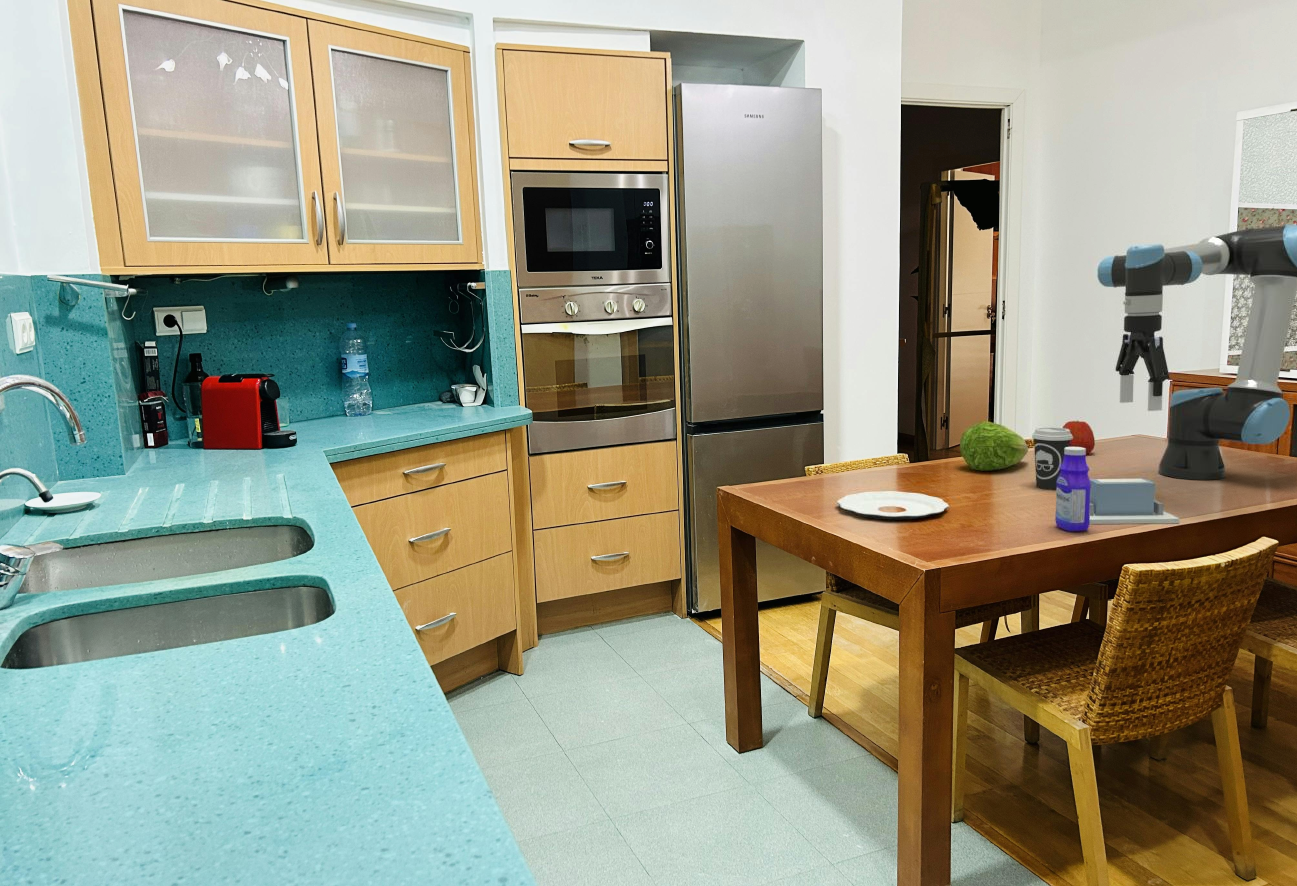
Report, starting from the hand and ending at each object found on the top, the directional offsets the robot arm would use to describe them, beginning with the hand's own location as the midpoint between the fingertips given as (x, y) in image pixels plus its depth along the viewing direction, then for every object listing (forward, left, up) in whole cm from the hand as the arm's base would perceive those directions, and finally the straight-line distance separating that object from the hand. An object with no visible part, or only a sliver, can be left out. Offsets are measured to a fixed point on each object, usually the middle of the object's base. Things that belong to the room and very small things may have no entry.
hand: (1140, 406), depth 204 cm
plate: (+57, +4, -23) cm, 62 cm away
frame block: (+9, +13, -22) cm, 27 cm away
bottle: (+23, +23, -23) cm, 40 cm away
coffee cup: (+13, -18, -23) cm, 32 cm away
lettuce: (+18, -45, -23) cm, 53 cm away
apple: (-11, -65, -23) cm, 69 cm away
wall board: (+9, +13, -23) cm, 28 cm away
